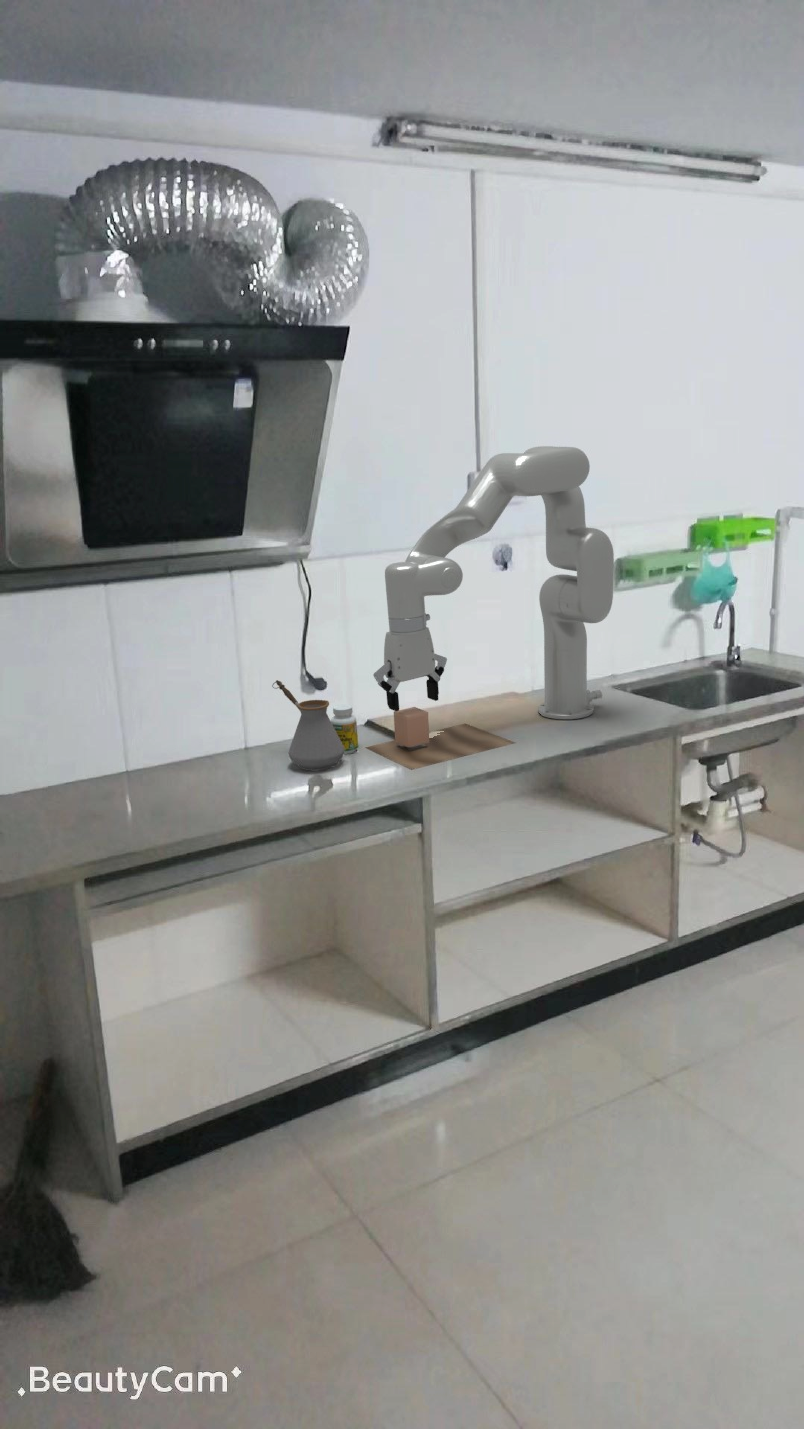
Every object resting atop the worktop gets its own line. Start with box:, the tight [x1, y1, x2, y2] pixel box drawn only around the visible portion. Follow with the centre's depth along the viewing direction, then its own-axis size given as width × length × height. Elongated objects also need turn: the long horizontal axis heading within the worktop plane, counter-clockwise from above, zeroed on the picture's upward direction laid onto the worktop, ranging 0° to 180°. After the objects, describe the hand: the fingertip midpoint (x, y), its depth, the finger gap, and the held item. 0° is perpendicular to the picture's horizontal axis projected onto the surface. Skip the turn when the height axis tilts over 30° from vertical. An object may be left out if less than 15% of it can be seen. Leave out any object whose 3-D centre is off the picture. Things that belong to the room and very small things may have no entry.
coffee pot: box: [271, 680, 345, 771], centre depth 217 cm, size 21×12×15 cm, turn 34°
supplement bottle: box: [330, 704, 359, 755], centre depth 221 cm, size 5×5×10 cm
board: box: [365, 723, 516, 771], centre depth 221 cm, size 26×18×1 cm
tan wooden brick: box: [393, 706, 430, 748], centre depth 219 cm, size 5×5×7 cm
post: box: [398, 744, 427, 751], centre depth 219 cm, size 4×4×7 cm
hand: (413, 704), depth 218 cm, fingers open, 9 cm apart
